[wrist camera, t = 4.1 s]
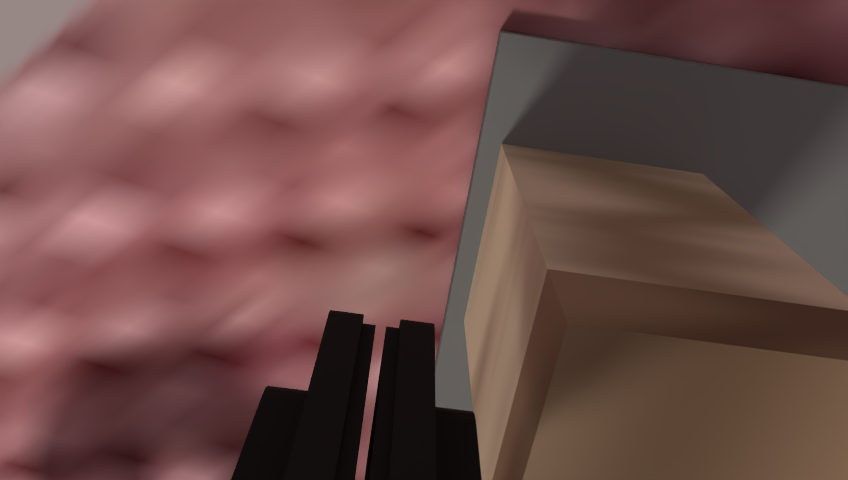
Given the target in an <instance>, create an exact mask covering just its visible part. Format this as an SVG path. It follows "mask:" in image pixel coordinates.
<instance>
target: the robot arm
mask: <svg viewBox="0 0 848 480" xmlns="http://www.w3.org/2000/svg"><path fill="white" fill-rule="evenodd" d="M363 317H364V315H363V314H355V313H348V312H340V311H332V310H330V312H329V315H328V318H327V322H326V326H325V330H324V333H323V337H322V341H321V344H320V348H319V352H318V355H317V359H316V363H315V366H314V370H313V374H312V377H311V381H310V385H309V388H308V391H304V390H296V389H287V388H279V387H271V386H267V387H266V388H265V390H264V393H263V395H262V397H261V400H260V403H259V406H258V408H257V411H256V414H255V416H254V419H253V422H252V425H251V427H250V430H249V433H248V435H247V438H246V441H245V443H244V446H243V449H242V452H241V454H240V457H239V460H238V462H237V465H236V468H235V470H234V473H233V476H232V479H231V480H355V473H356V466H357V459H358V451H359V444H360V437H361V429H362V422H363V415H364V407H365V400H366V393H367V385H368V378H369V370H370V363H371V356H372V348H373V341H374V334H375V326H376V325H370V324H363ZM365 480H482V478H481V468H480V457H479V447H478V437H477V427H476V419H475V414H474V412H473V411H466V410H458V409H450V408H442V407H436V405H435V328H434V324H432V323H424V322H417V321H409V320H401V321H400V326H399V328H393V327H386V333H385V339H384V346H383V353H382V360H381V367H380V374H379V381H378V388H377V395H376V402H375V409H374V416H373V423H372V430H371V437H370V443H369V450H368V457H367V465H366V472H365Z"/></svg>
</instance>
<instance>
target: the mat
mask: <svg viewBox="0 0 848 480" xmlns="http://www.w3.org/2000/svg"><path fill="white" fill-rule="evenodd" d="M501 144H507V145H514V146H521V147H527V148H534V149H541V150H547V151H554V152H560V153H567V154H574V155H580V156H587V157H594V158H600V159H607V160H614V161H620V162H627V163H634V164H640V165H647V166H653V167H660V168H667V169H673V170H680V171H687V172H693V173H700V174H703V175H705V176H706V177H707V178H708V179H709V180H711V181H712V182H713V183H714V184H715V185H716V186H718V187H719V188H720V189H721V190H722V191H724V192H725V193H726V194H727V195H728V196H729V197H731V198H732V199H733V200H734V201H735V202H737V203H738V204H739V205H740V206H741V207H742V208H744V209H745V210H746V211H747V212H748V213H750V214H751V215H752V216H753V217H754V218H755V219H757V220H758V221H759V222H760V223H761V224H763V225H764V226H765V227H766V228H767V229H768V230H770V231H771V232H772V233H773V234H774V235H776V236H777V237H778V238H779V239H780V240H781V241H783V242H784V243H785V244H786V245H787V246H789V247H790V248H791V249H792V250H793V251H794V252H796V253H797V254H798V255H799V256H800V257H802V258H803V259H804V260H805V261H806V262H807V263H809V264H810V265H811V266H812V267H813V268H815V269H816V270H817V271H818V272H819V273H820V274H822V275H823V276H824V277H825V278H826V279H827V280H829V281H830V282H831V283H832V284H833V285H835V286H836V287H837V288H838V289H839V290H840V291H842V292H843V293H844V294H845V295H846V296H848V86H843V85H837V84H831V83H824V82H818V81H812V80H806V79H800V78H794V77H787V76H781V75H775V74H769V73H763V72H756V71H750V70H744V69H738V68H732V67H725V66H719V65H713V64H707V63H701V62H694V61H688V60H682V59H676V58H670V57H664V56H657V55H651V54H645V53H639V52H633V51H626V50H620V49H614V48H608V47H602V46H595V45H589V44H583V43H577V42H571V41H564V40H558V39H552V38H546V37H540V36H534V35H527V34H521V33H515V32H509V31H503V30H500V32H499V37H498V42H497V47H496V52H495V57H494V63H493V68H492V73H491V78H490V83H489V88H488V94H487V99H486V104H485V109H484V114H483V119H482V124H481V130H480V135H479V140H478V145H477V150H476V155H475V160H474V166H473V171H472V176H471V181H470V186H469V191H468V197H467V202H466V207H465V212H464V217H463V222H462V227H461V233H460V238H459V243H458V248H457V253H456V258H455V264H454V269H453V274H452V279H451V284H450V289H449V294H448V300H447V305H446V310H445V315H444V320H443V325H442V331H441V336H440V341H439V346H438V351H437V356H436V361H435V405H436V407H442V408H450V409H458V410H466V411H473V405H472V395H471V385H470V375H469V365H468V355H467V346H466V336H465V326H464V318H465V314H466V309H467V304H468V299H469V295H470V290H471V285H472V280H473V276H474V271H475V266H476V261H477V256H478V252H479V247H480V242H481V237H482V233H483V228H484V223H485V218H486V213H487V209H488V204H489V199H490V194H491V190H492V185H493V180H494V175H495V171H496V166H497V161H498V156H499V151H500V147H501Z"/></svg>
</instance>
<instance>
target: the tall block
mask: <svg viewBox="0 0 848 480" xmlns="http://www.w3.org/2000/svg"><path fill="white" fill-rule="evenodd" d="M464 326H465V336H466V346H467V355H468V365H469V375H470V385H471V395H472V405H473V412H474V414H475V419H476V427H477V437H478V447H479V457H480V468H481V478H482V480H848V296H846V295H845V294H844V293H843V292H842V291H840V290H839V289H838V288H837V287H836V286H835V285H833V284H832V283H831V282H830V281H829V280H827V279H826V278H825V277H824V276H823V275H822V274H820V273H819V272H818V271H817V270H816V269H815V268H813V267H812V266H811V265H810V264H809V263H807V262H806V261H805V260H804V259H803V258H802V257H800V256H799V255H798V254H797V253H796V252H794V251H793V250H792V249H791V248H790V247H789V246H787V245H786V244H785V243H784V242H783V241H781V240H780V239H779V238H778V237H777V236H776V235H774V234H773V233H772V232H771V231H770V230H768V229H767V228H766V227H765V226H764V225H763V224H761V223H760V222H759V221H758V220H757V219H755V218H754V217H753V216H752V215H751V214H750V213H748V212H747V211H746V210H745V209H744V208H742V207H741V206H740V205H739V204H738V203H737V202H735V201H734V200H733V199H732V198H731V197H729V196H728V195H727V194H726V193H725V192H724V191H722V190H721V189H720V188H719V187H718V186H716V185H715V184H714V183H713V182H712V181H711V180H709V179H708V178H707V177H706V176H705V175H703V174H700V173H693V172H687V171H680V170H673V169H667V168H660V167H653V166H647V165H640V164H634V163H627V162H620V161H614V160H607V159H600V158H594V157H587V156H580V155H574V154H567V153H560V152H554V151H547V150H541V149H534V148H527V147H521V146H514V145H507V144H501V147H500V151H499V156H498V161H497V166H496V171H495V175H494V180H493V185H492V190H491V194H490V199H489V204H488V209H487V213H486V218H485V223H484V228H483V233H482V237H481V242H480V247H479V252H478V256H477V261H476V266H475V271H474V276H473V280H472V285H471V290H470V295H469V299H468V304H467V309H466V314H465V318H464Z"/></svg>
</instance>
